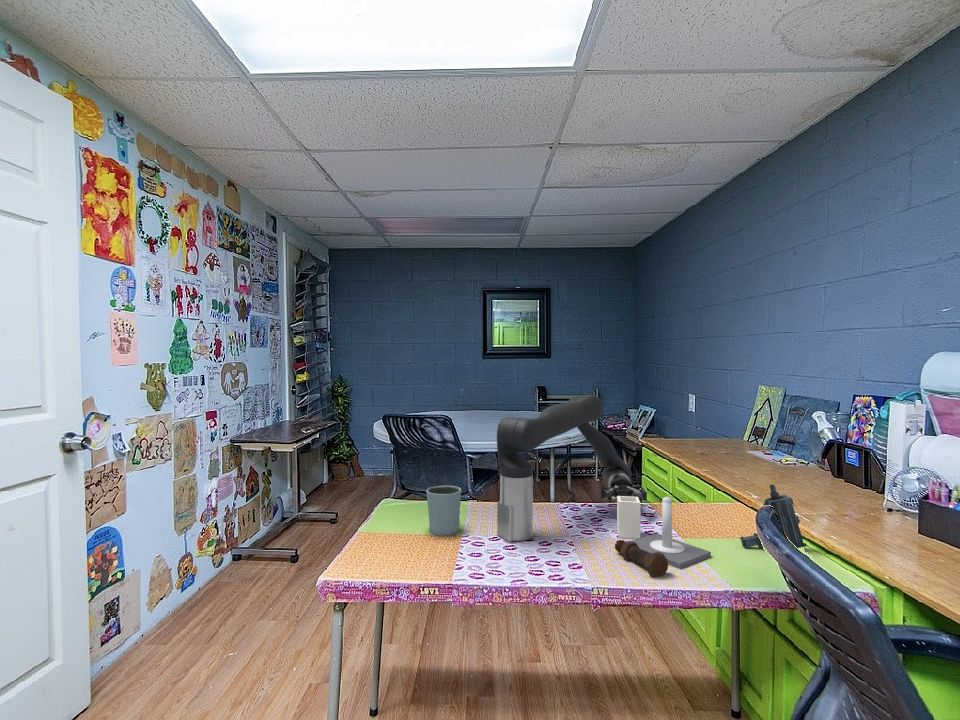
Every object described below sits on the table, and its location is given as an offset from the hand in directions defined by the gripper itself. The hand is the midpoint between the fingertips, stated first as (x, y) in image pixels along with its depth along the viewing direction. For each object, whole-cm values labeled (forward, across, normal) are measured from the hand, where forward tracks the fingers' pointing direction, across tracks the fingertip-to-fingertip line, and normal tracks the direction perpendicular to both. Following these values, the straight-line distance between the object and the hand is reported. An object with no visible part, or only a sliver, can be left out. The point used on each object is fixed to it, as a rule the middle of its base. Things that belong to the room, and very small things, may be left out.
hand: (624, 499), depth 151 cm
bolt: (+32, 0, +7) cm, 32 cm away
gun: (+15, +36, +7) cm, 40 cm away
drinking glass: (+18, -52, +6) cm, 56 cm away
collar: (+11, 0, +7) cm, 13 cm away
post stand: (+23, +8, +6) cm, 25 cm away
